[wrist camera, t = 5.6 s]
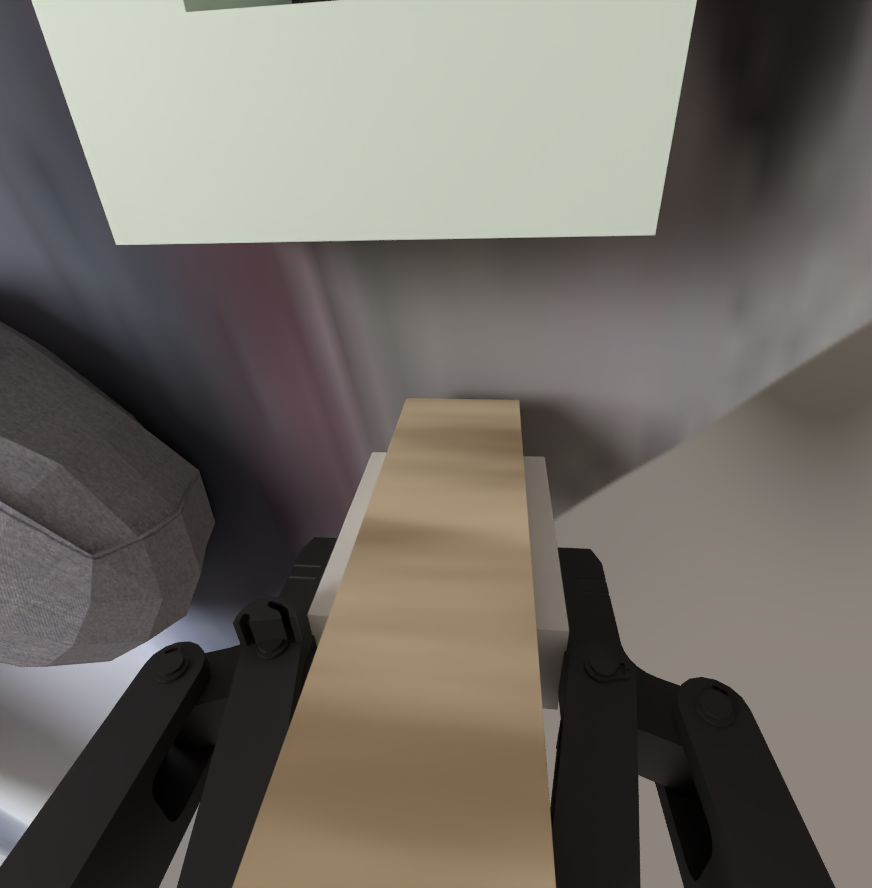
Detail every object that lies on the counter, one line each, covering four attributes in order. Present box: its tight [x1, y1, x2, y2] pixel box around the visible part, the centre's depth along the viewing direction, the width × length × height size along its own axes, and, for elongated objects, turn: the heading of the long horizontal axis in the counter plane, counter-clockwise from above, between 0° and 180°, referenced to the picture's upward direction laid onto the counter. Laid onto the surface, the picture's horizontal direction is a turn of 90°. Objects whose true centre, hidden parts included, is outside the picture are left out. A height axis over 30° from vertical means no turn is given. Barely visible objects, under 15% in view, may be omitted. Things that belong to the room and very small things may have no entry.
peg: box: [232, 398, 556, 888], centre depth 13 cm, size 4×4×14 cm
